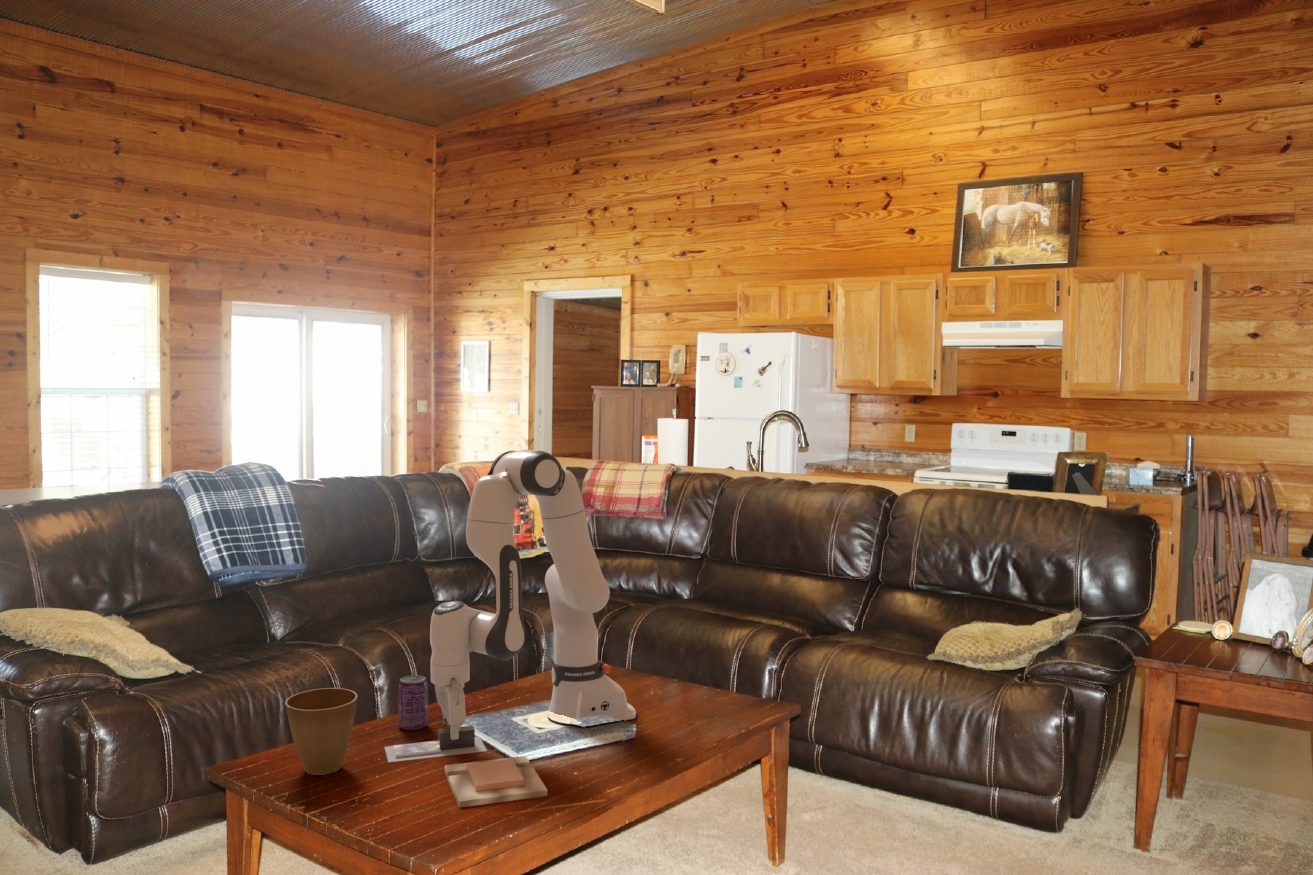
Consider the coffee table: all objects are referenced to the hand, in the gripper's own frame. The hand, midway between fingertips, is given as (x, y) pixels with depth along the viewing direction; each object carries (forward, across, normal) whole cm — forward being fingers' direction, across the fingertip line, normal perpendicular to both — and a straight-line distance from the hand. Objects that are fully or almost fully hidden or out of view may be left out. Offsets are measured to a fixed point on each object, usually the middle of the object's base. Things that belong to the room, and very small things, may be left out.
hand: (450, 731), depth 235 cm
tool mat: (+4, 0, +4) cm, 5 cm away
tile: (+2, -18, -5) cm, 19 cm away
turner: (+4, 0, +4) cm, 5 cm away
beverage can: (+4, +18, +6) cm, 20 cm away
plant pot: (+4, -4, +29) cm, 29 cm away
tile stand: (+4, -24, -5) cm, 25 cm away
